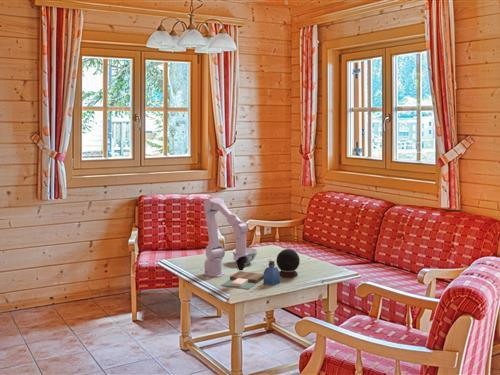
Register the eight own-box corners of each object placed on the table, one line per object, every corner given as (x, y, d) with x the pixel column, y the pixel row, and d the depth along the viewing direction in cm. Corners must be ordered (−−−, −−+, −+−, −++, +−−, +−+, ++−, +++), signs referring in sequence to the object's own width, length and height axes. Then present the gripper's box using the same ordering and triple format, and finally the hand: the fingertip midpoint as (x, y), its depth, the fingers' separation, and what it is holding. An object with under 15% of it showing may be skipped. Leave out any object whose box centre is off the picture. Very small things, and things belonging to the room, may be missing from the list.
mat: (221, 285, 296) (221, 284, 296) (229, 280, 305) (229, 279, 305) (248, 289, 290) (248, 288, 289) (256, 283, 299) (256, 283, 299)
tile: (231, 285, 295) (231, 282, 295) (238, 280, 303) (238, 278, 303) (241, 286, 293) (241, 283, 293) (248, 282, 301) (248, 279, 301)
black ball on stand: (302, 277, 310) (302, 251, 308) (279, 279, 308) (279, 252, 306) (296, 271, 323) (296, 246, 321) (274, 272, 321) (274, 247, 319)
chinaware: (228, 264, 338) (228, 251, 337) (240, 258, 351) (240, 246, 350) (250, 267, 331) (250, 254, 330) (261, 261, 344) (261, 249, 343)
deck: (229, 280, 306) (229, 276, 306) (239, 274, 317) (239, 271, 316) (256, 283, 300) (256, 280, 299) (265, 277, 310) (265, 274, 310)
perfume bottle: (272, 285, 296) (272, 263, 295) (263, 283, 300) (263, 261, 299) (279, 283, 301) (279, 261, 299) (270, 280, 305) (270, 259, 303)
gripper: (242, 249, 289) (242, 274, 291) (253, 243, 302) (253, 267, 304) (229, 247, 292) (229, 272, 294) (241, 242, 305) (241, 266, 307)
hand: (240, 270), depth 299 cm, fingers closed
